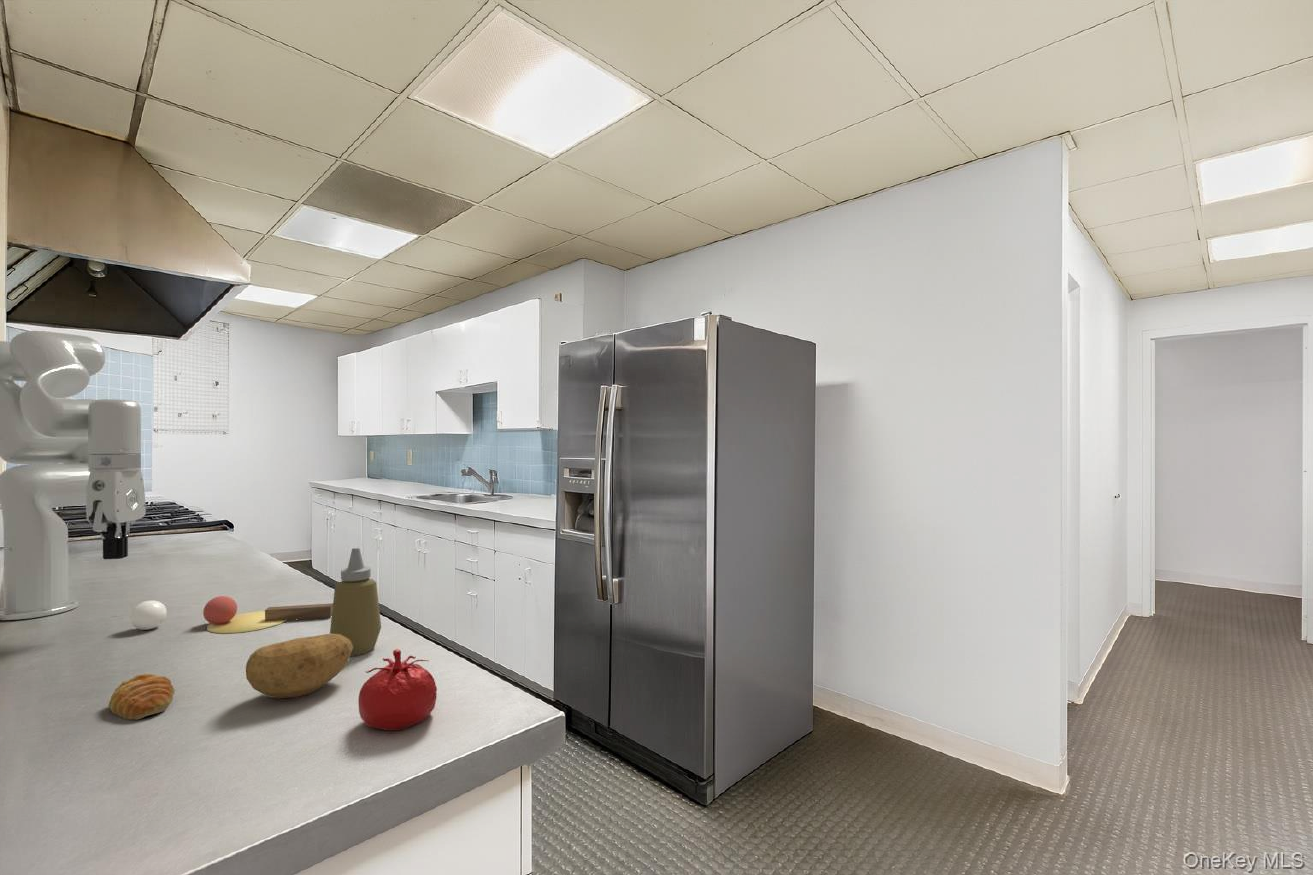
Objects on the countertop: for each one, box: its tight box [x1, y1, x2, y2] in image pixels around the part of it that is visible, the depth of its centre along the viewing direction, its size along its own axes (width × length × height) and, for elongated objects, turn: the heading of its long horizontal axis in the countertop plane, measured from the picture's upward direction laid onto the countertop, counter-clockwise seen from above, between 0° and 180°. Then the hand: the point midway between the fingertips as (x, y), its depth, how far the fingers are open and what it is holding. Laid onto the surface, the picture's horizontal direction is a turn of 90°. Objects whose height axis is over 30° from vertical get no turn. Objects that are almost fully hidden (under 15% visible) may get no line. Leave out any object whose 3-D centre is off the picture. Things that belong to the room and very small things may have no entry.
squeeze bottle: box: [329, 547, 382, 657], centre depth 104 cm, size 8×8×18 cm
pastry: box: [108, 673, 175, 721], centre depth 82 cm, size 9×7×4 cm
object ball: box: [202, 595, 238, 625], centre depth 119 cm, size 6×6×6 cm
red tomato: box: [357, 649, 438, 731], centre depth 79 cm, size 10×10×9 cm
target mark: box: [206, 610, 287, 634], centre depth 120 cm, size 14×14×1 cm
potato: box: [245, 633, 353, 699], centre depth 87 cm, size 10×14×8 cm
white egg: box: [129, 600, 168, 631], centre depth 116 cm, size 6×6×6 cm
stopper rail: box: [264, 602, 333, 621], centre depth 122 cm, size 2×12×2 cm, turn 104°
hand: (115, 557), depth 115 cm, fingers closed
